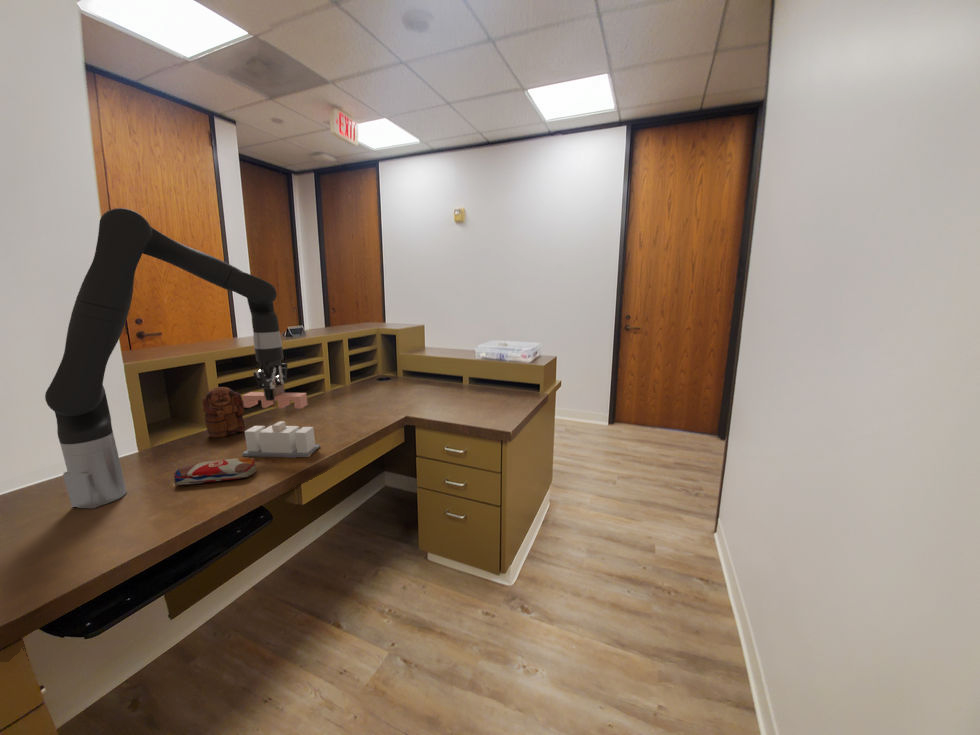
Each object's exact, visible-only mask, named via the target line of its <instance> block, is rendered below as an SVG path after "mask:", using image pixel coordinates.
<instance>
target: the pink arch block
mask: <svg viewBox="0 0 980 735" xmlns="http://www.w3.org/2000/svg"><path fill="white" fill-rule="evenodd" d="M272 389H273V395H274V400H272V401H268V400H266V397H265V390H264V389H263V391H249V392H247V393H245V394H243V395H241V397H242V402H243V408H251V407H255V406H256V405H258V404H259V401H261V402H260V403H261V408H262V409H267V408H268V407H270V406H272V405H274V402H275V401H276V402H277V403H278V408H279V409H284V408H286V407H287V406H289V405H290V404H291V402H293V403H294V404H293V405H294V409H298V410H299V409H303V408H304V407H306V406H308V405H309V404H308V396H307V394H308V393H307V392H285V385H284V384H282V385H276V384H273V388H272Z"/></svg>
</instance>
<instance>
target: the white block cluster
mask: <svg viewBox="0 0 980 735" xmlns="http://www.w3.org/2000/svg"><path fill="white" fill-rule="evenodd" d="M244 438H245V443H246V450H245V451H243V452H242V453H241V456H242V457H264V458H266V457H267V458H269V457H270V458H296V457H308V456H309V455H310V454H311V453H313V452H314V451H315V450H316V449H317V448H319V447H320V448H321V444H316V438H315V431H314V426H302V427H300V425H299V426H298V425H286V421H283V420H282V421H281V420H280V421H277V422H276V423H274V424H271V425H269V426H267V427H266V426H265V425H254V426H252V427H249V428H248V429H245V431H244ZM320 448H319V449H320ZM316 451H317V450H316ZM316 451H315V452H316ZM315 452H314V453H315ZM314 453H313V454H314ZM310 456H311V455H310ZM310 456H309V457H310ZM309 457H308V458H309Z"/></svg>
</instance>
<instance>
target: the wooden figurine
mask: <svg viewBox="0 0 980 735" xmlns="http://www.w3.org/2000/svg"><path fill="white" fill-rule="evenodd" d="M202 406H203V407H202V408H203V412H204V413H205V414H204V421H205V427H206V430H207V434H208V436H209V437H210V438H226V437H227V436H233V435H237V434H238V433H241V432H244V431H246V426H245V421H244V415H245V410H244V409H245V407H244V404H243V398H242V395H241V393H239V392H236V391H234V390H233V389H231V388H229V387H228V386H227V387H226V386H218V387H217V386H216V387H214V388H212V389H210V390H209V391H208V392H207V393H205V396H204V398H203V399H202ZM244 433H245V432H244Z"/></svg>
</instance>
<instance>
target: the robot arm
mask: <svg viewBox="0 0 980 735" xmlns="http://www.w3.org/2000/svg"><path fill="white" fill-rule="evenodd" d="M94 251H95V252H94V256H93V259H92V262H91V264H90V267H89V268H88V270H87V272H86V275H84V278H83V281H82V283H81V285H80V288H79V291H78V293H77V296H76V298H75V301H74V305H73V308H72V311H71V316H70V319H69V323H68V327H67V332H66V338H65V345H64V346H65V347H64V353H63V355H62V359H61V361H60V363H59V366H58V368H57V371H56V373H55V374H54V377H53V379H52V380H51V382H50V384H49V386H48V388H47V389H46V391H45V395H44V399H45V402H46V405H47V406H48V407H49V409H51V410H52V411H53V412H54V414H55V418H56V425H57V426H56V427H57V431H56V432H57V438H58V441H59V445H60V449H61V452H62V456H63V459H64V464H65V467H66V471H65V472H63V474H62V476H63V480H64V483H65V487H66V490H67V495H68V498H69V501H70V506H71V508H72V507H77V508H76V509H96V508H98V507H100V506H103V505H107V504H109V503H112V502H114V501H117V500H119V499H121V498H122V497H124V496H125V495H126V494H127V492H128V491H127V486H126V483H125V478H124V473H123V469H122V465H121V460H120V456H119V451H118V447H117V444H116V443H117V442H116V439H115V434H114V431H113V426H112V418H111V413H110V408H109V407H110V406H109V404H108V399H107V394H106V389H105V387H104V385H103V384H104V379H105V372H106V368H107V365H108V362H109V359H110V357H111V356H112V354H113V351H114V349H115V348H116V346H117V344H118V342H119V339H120V337H121V335H122V333H123V331H124V329H125V325H126V323H127V319H128V316H129V313H130V310H131V305H132V300H133V294H134V286H135V285H134V283H135V274H136V270H137V268H138V265H139V262H140V260H141V258H142V256H143V255H146V256H150V257H152V258H156V259H158V260H160V261H162V262H166V263H168V264H169V265H173V266H175V267H177V268H179V269H181V270H183V271H185V272H187V273H190V274H192V275H193V276H196V277H198V278H199V279H202V280H203V281H206V282H208V283H210V284H212V285H215V286H217V287H219V288H222V289H224V290H227V291H230V292H234V293H235V294H239V295H240V296H242V297H245V298H246V299H247V304H248V307H249V311H250V316H251V323H252V324H251V325H252V330H253V331H252V332H253V338H252V339H253V344H254V345H253V346H254V354H255V360H256V362H257V363H259V364H260V366H259V370H258V371H254V372H253V376H254V379H255V382H256V384H257V386H258V389H260V390H261V389H264V390H265V397H266V400H268V401H272V400H274V395H273V389H272V388H273V385H284V383H285V382H287V380H288V379H287V378H288V363H284V362H283V363H282V361H283V360H284V351H283V341H282V336H281V332H280V327H279V318H278V316H277V314H276V312H275V308H274V307H275V306H274V301H275V300H276V299H277V296H278V295H277V294H278V292H277V290H276V287H274V284H271V282H268V280H267V281H266V280H265V279H262V278H260V277H258V276H255V275H252V274H250V273H247V272H244V271H242V270H240V269H239V268H237V267H236V266H233V265H232V264H230V263H227V262H225V261H224V260H222V259H219V258H217V257H215V256H212V255H210V254H207V253H205V252H203V251H200V250H198V249H194V248H192V247H190V246H188V245H185V244H182V243H181V242H178V241H176V240H174V239H172V237H171V238H170V237H168V236H167V235H165V234H163V233H162V232H160V231H159V230H157V229H155V228H154V227H153V226H151V225H150V223H149V221H148V220H147V219H146V218H145V217H144V216H143V215H141V214H140V213H138V212H137V211H135V210H132V209H130V208H123V207H121V208H119V207H118V208H112V209H110V210H107V211H106V212H104V213H103V214H102V215H101V217H100V219H99V224H98V235H97V240H96V247H95V250H94ZM264 390H263V391H264Z"/></svg>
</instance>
